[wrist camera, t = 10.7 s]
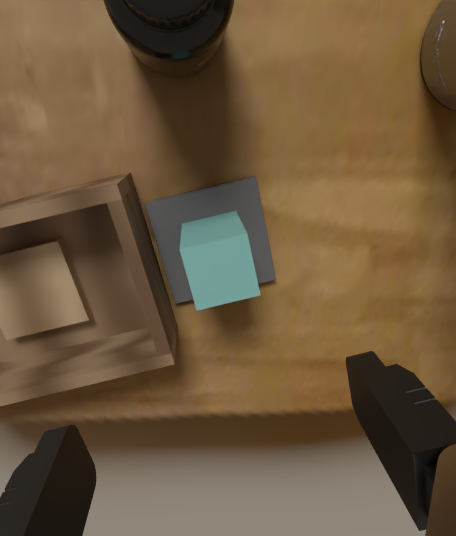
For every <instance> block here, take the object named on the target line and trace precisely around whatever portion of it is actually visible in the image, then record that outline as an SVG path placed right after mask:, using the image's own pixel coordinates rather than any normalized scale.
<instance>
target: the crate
mask: <svg viewBox="0 0 456 536" xmlns="http://www.w3.org/2000/svg"><path fill="white" fill-rule="evenodd" d="M176 340H177V323H176V320H175V317H174V314H173V310H172V307H171V304H170V301H169V297H168V294H167V291H166V288H165V284H164V281H163V278H162V274H161V271H160V268H159V265H158V261H157V258H156V255H155V252H154V248H153V245H152V242H151V238H150V235H149V232H148V229H147V225H146V222H145V219H144V216H143V212H142V209H141V206H140V203H139V199H138V196H137V193H136V189H135V186H134V183H133V180H132V176H131V173H127V174H123V175H119V176H115V177H111V178H106V179H102V180H98V181H94V182H90V183H86V184H81V185H77V186H73V187H69V188H65V189H60V190H56V191H52V192H48V193H44V194H39V195H35V196H31V197H27V198H23V199H19V200H14V201H10V202H6V203H2V204H0V406H4V405H8V404H12V403H16V402H21V401H25V400H29V399H33V398H37V397H41V396H45V395H50V394H54V393H58V392H62V391H66V390H70V389H74V388H79V387H83V386H87V385H91V384H95V383H99V382H104V381H108V380H112V379H116V378H120V377H124V376H128V375H133V374H137V373H141V372H145V371H149V370H153V369H158V368H162V367H166V366H170V365H174V364H175V355H176Z"/></svg>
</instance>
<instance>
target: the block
mask: <svg viewBox="0 0 456 536" xmlns="http://www.w3.org/2000/svg"><path fill="white" fill-rule="evenodd" d="M180 253H181V257H182V260H183V264H184V267H185V271H186V275H187V278H188V282H189V285H190V289H191V292H192V296H193V299H194V303H195V307H196V310H197V311H198V310H202V309H206V308H210V307H214V306H218V305H222V304H227V303H231V302H235V301H239V300H243V299H247V298H252V297H256V296H260V290H259V286H258V281H257V276H256V272H255V267H254V262H253V257H252V253H251V248H250V243H249V239H248V234H247V232H246V230H245V228H244V226H243V224H242V222H241V220H240V218H239V216H238V214H237V212H236V211H233V212H229V213H225V214H221V215H217V216H212V217H208V218H204V219H200V220H196V221H192V222H187V223H183V224H182V229H181V240H180Z"/></svg>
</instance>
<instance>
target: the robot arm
mask: <svg viewBox="0 0 456 536" xmlns="http://www.w3.org/2000/svg"><path fill="white" fill-rule="evenodd" d="M421 65H422V72H423V76H424V79H425V82H426V85H427V87H428V89H429V90H430V92H431V93H432V95H433V96H434V97H435V98H436V99H437V100H438V101H439V102H440V103H441V104H442V105H444V106H446V107H448V108H450V109H452V110H456V0H443V1H442V2H441V3H440V4H439V6H438V7H437V9H436V10H435V12H434V14H433V15H432V17H431V19H430V21H429V24H428V26H427V28H426V31H425V35H424V39H423V43H422V51H421ZM346 366H347V373H348V379H349V386H350V393H351V399H352V404H353V408H354V411H355V414H356V416H357V419H358V421H359V423H360V425H361V426H362V428H363V430H364V432H365V434H366V435H367V437H368V439H369V441H370V443H371V445H372V446H373V448H374V450H375V452H376V454H377V455H378V457H379V459H380V461H381V463H382V464H383V466H384V468H385V470H386V471H387V473H388V475H389V477H390V479H391V481H392V483H393V484H394V486H395V488H396V490H397V492H398V493H399V495H400V497H401V499H402V501H403V502H404V504H405V506H406V508H407V510H408V512H409V513H410V515H411V517H412V519H413V520H414V522H415V524H416V526H417V528H418V530H419V531H421V530H425V529H426V534H425V536H456V421H455V420H454V419H453V418H452V416H451V415H450V414H449V413H448V412H447V411H446V410H445V408H444V407H443V406H442V405H441V404H440V403H439V402H438V401H437V400H435V398H434V396H433V395H432V394H431V393H430V391H429V390H428V389H426V388H425V386H424V385H423V383H422V382H421V381H420V380H419V379H418V378H417V377H416V375H415V374H414V373H412V372H410V371H409V370H407V369H405V368H403V367H401V366H399V365H398V364H395V365H391V366H386V367H385V366H384V364H383V363H382V362H381V360H380V359H379V358H378V357H377V355H376V354H375V353H374V352H373V351H370V352H366V353H362V354H358V355H354V356H350V357H347V358H346ZM95 486H96V469H95V465H94V462H93V460H92V458H91V456H90V454H89V452H88V450H87V447H86V445H85V443H84V441H83V439H82V437H81V435H80V433H79V431H78V429H77V427H76V426H75V425H68V426H64V427H60V428H57V429H52V430H48V431H46V432H45V433H44V434H43V435H42V438H41V439H40V442H39V444H38V446H37V448H36V450H35V452H34V453H32V454H29V455H28V456H27V457H26V458H25V459H24V460H23V462H22V463H21V464H20V465H19V466H18V467H17V468H16V469H15V471H14V472H13V474H12V476H11V478H10V480H9V482H8V484H7V486H6V488H5V492H3V493H2V495H1V497H0V536H82V535H83V531H84V527H85V523H86V520H87V516H88V512H89V509H90V505H91V501H92V497H93V493H94V490H95Z"/></svg>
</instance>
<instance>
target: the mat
mask: <svg viewBox="0 0 456 536" xmlns="http://www.w3.org/2000/svg"><path fill="white" fill-rule="evenodd" d="M145 205H146V208H147V212H148V215H149V218H150V222H151V225H152V228H153V232H154V235H155V238H156V242H157V245H158V248H159V252H160V255H161V258H162V261H163V265H164V268H165V271H166V275H167V278H168V281H169V285H170V288H171V291H172V295H173V298H174V301H175V304H177V303H181V302H185V301H189V300H193V296H192V292H191V289H190V285H189V282H188V278H187V275H186V271H185V267H184V264H183V260H182V257H181V253H180V240H181V229H182V224H183V223H187V222H192V221H196V220H200V219H204V218H208V217H212V216H217V215H221V214H225V213H229V212H233V211H236V212H237V214H238V216H239V218H240V220H241V222H242V224H243V226H244V228H245V230H246V232H247V234H248V239H249V243H250V248H251V253H252V257H253V262H254V267H255V272H256V276H257V281H258V284H260V283H264V282H268V281H272V280H276V278H275V273H274V267H273V262H272V257H271V252H270V247H269V242H268V236H267V231H266V226H265V221H264V216H263V211H262V205H261V200H260V195H259V190H258V185H257V180H256V177H255V176H254V177H249V178H245V179H241V180H237V181H233V182H229V183H224V184H220V185H216V186H212V187H208V188H204V189H199V190H195V191H191V192H187V193H183V194H178V195H174V196H170V197H166V198H162V199H158V200H153V201H149V202H146V203H145Z"/></svg>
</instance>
